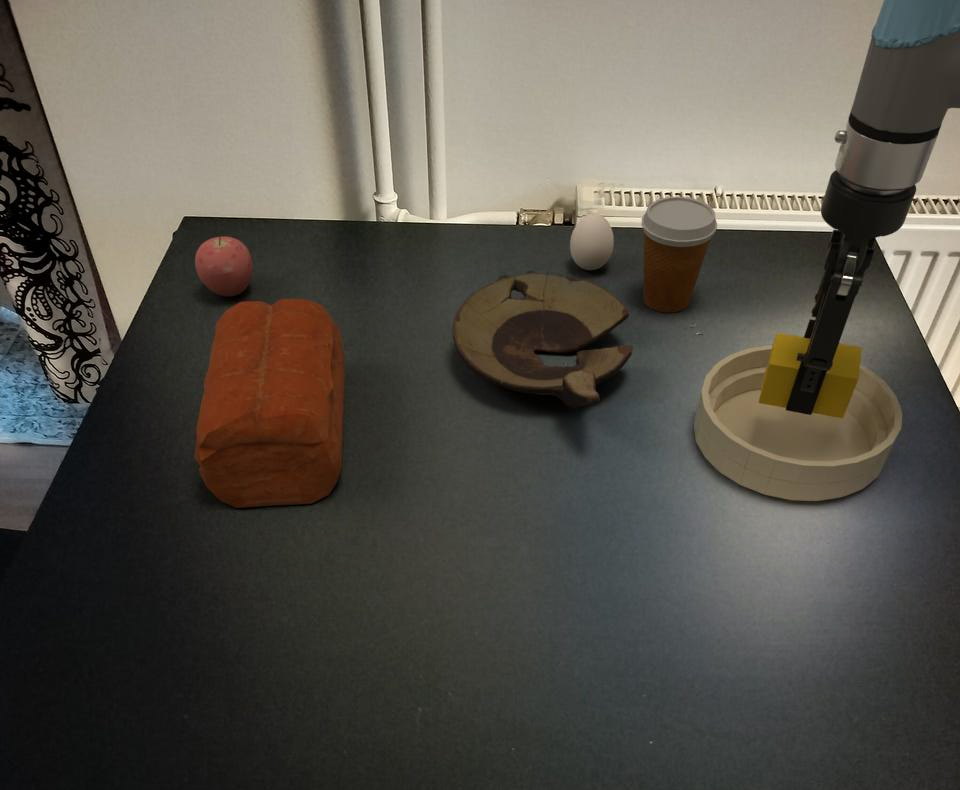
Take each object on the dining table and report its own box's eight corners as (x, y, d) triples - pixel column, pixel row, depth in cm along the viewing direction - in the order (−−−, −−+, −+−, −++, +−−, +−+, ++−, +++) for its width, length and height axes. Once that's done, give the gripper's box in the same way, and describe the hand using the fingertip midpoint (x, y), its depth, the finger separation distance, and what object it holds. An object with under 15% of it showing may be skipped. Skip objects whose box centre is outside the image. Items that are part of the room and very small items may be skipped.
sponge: (847, 386, 99) (862, 346, 95) (843, 418, 95) (858, 379, 91) (765, 371, 100) (776, 332, 97) (758, 403, 97) (769, 363, 93)
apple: (265, 279, 125) (253, 224, 119) (249, 308, 121) (235, 252, 115) (214, 276, 126) (200, 220, 120) (197, 304, 122) (180, 248, 115)
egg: (598, 283, 124) (604, 230, 118) (560, 271, 126) (564, 218, 120) (618, 264, 127) (624, 211, 121) (580, 252, 129) (585, 200, 123)
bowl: (888, 402, 107) (905, 363, 103) (879, 523, 94) (898, 484, 90) (709, 370, 111) (718, 331, 107) (677, 481, 99) (686, 442, 94)
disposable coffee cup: (624, 312, 119) (635, 225, 110) (639, 276, 125) (651, 190, 116) (694, 325, 117) (712, 236, 108) (707, 287, 123) (725, 200, 114)
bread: (202, 511, 96) (174, 433, 88) (226, 366, 113) (205, 288, 105) (345, 503, 97) (332, 424, 89) (349, 359, 113) (337, 282, 105)
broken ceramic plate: (629, 310, 120) (636, 256, 114) (628, 456, 101) (637, 400, 95) (465, 302, 121) (464, 248, 115) (435, 444, 103) (431, 388, 97)
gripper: (840, 127, 86) (777, 339, 104) (822, 220, 75) (756, 438, 93) (921, 138, 84) (843, 350, 102) (916, 234, 73) (829, 453, 91)
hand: (801, 392), depth 98 cm, fingers closed on sponge, 6 cm apart
